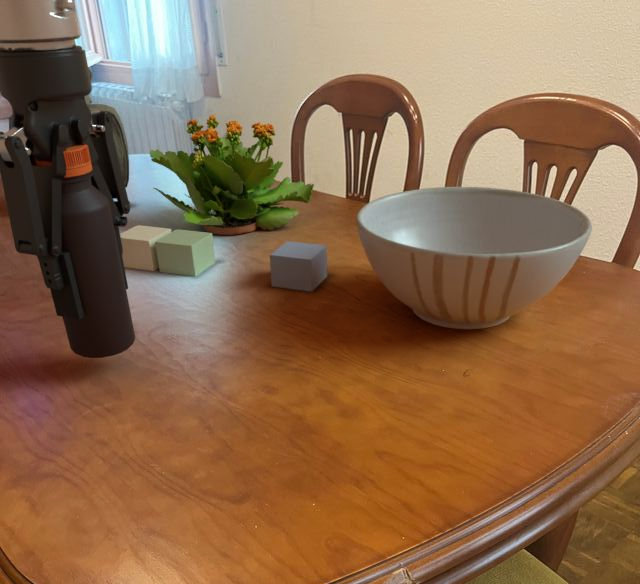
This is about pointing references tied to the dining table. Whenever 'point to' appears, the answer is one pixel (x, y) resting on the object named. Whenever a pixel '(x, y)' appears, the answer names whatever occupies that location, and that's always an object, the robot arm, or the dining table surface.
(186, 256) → the sage block
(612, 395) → the dining table surface
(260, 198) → the potted flower
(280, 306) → the dining table surface
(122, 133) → the tabletop clock
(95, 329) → the dark brown bottle
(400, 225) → the decorative bowl
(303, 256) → the slate block
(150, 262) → the cream block
